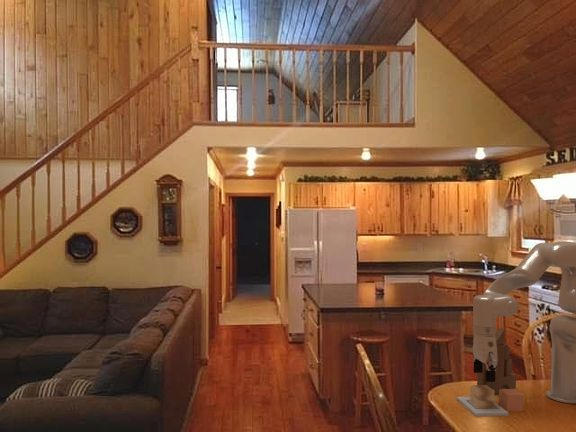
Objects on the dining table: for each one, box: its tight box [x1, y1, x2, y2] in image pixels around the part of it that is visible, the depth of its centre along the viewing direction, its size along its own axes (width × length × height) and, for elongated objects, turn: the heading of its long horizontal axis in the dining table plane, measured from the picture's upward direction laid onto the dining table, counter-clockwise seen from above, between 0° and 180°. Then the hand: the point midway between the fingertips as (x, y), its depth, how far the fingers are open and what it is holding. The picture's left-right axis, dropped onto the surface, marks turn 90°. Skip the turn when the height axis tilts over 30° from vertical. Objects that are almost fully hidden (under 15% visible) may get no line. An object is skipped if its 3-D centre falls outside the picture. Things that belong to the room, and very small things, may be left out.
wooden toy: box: [476, 327, 517, 396], centre depth 206 cm, size 16×7×25 cm, turn 118°
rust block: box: [498, 388, 525, 412], centre depth 188 cm, size 6×6×6 cm
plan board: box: [456, 396, 510, 417], centre depth 188 cm, size 12×16×1 cm
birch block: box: [469, 384, 495, 408], centre depth 188 cm, size 6×6×6 cm
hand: (484, 376), depth 188 cm, fingers open, 9 cm apart
